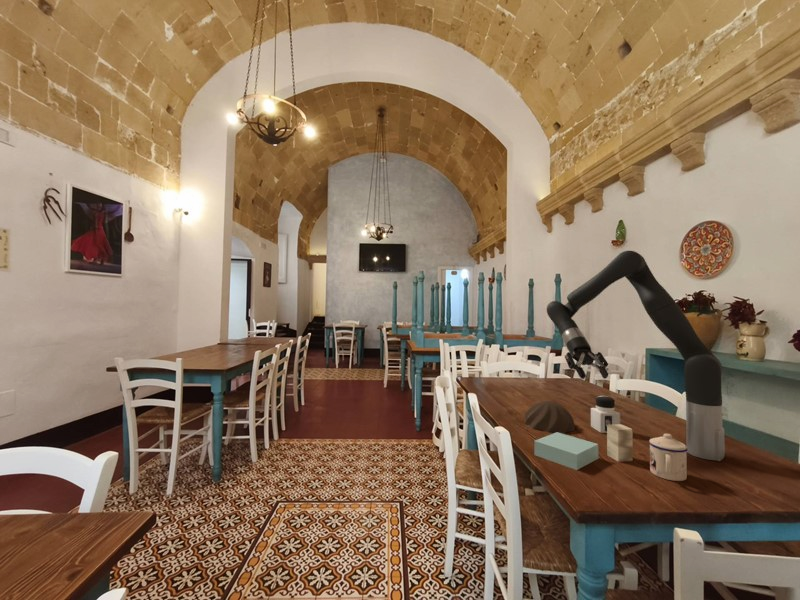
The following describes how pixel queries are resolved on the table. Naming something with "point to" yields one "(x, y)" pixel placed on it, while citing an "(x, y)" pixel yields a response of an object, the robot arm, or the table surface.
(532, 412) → the decorative dome
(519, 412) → the table surface
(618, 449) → the birch block
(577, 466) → the teal block
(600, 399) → the container
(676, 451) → the teacup with lid
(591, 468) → the table surface
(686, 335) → the robot arm
